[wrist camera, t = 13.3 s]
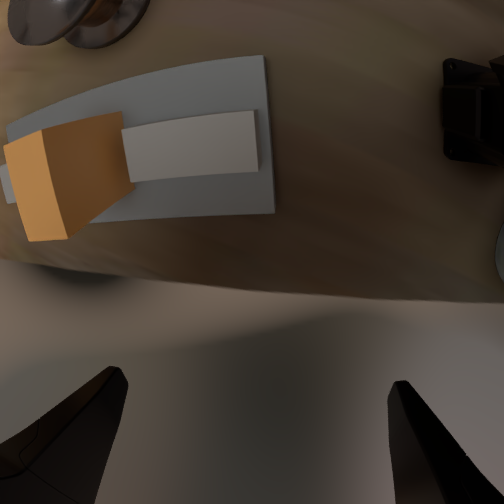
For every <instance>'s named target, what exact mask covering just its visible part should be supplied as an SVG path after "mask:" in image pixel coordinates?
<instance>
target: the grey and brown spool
mask: <svg viewBox="0 0 504 504" xmlns="http://www.w3.org/2000/svg"><path fill="white" fill-rule="evenodd" d="M149 1H150V0H10V4H9V9H8V27H9V30H10V33H11V35H12V37H13V38H14V39H15V40H16V41H17V42H18V43H20V44H23V45H36V46H40V45H46V44H50V43H52V42H54V41H57V40H58V39H60V38H62V37H63V36H64V37H65V39H66V40H67V41H68V42H69V43H70V44H72V45H74V46H76V47H80V48H88V49H97V48H103V47H106V46H109V45H111V44H113V43H115V42H117V41H118V40H120V39H121V38H123V37H124V36H125V35H127V34H128V33H129V32H130V31H131V30H132V29H133V28H134V27H135V26H136V24H137V23H138V22H139V21H140V19H141V18H142V16H143V15H144V13H145V11H146V9H147V7H148V4H149Z"/></svg>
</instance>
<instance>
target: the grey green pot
mask: <svg viewBox="0 0 504 504" xmlns="http://www.w3.org/2000/svg"><path fill="white" fill-rule="evenodd" d="M495 263H496V267H497V271H498V273H499V276H500V277H501V279H502V280H503V282H504V223H503V225H502V227H501V230H500V233H499V235H498V239H497V243H496V249H495Z"/></svg>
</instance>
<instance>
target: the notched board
mask: <svg viewBox="0 0 504 504" xmlns="http://www.w3.org/2000/svg"><path fill="white" fill-rule="evenodd" d="M119 111H122V118H123V124H124V129H122V130H121V131H122V137H123V143H124V149H125V155H126V161H127V166H128V171H129V177H130V182H134V186H135V189H134V190H133V191H131V192H130V193H128V194H127V195H126V196H124V197H123V198H121V199H120V200H119V201H117V202H116V203H114V204H113V205H112V206H110V207H109V208H108V209H106V210H105V211H103V212H102V213H101V214H99V215H98V216H97V217H96V218H94V219H93V220H92V221H90V222H89V223H99V222H112V221H126V220H141V219H157V218H175V217H195V216H217V215H244V214H275V209H276V193H275V177H274V162H273V147H272V133H271V119H270V106H269V94H268V82H267V70H266V59H265V57H264V56H263V55H256V56H245V57H236V58H227V59H220V60H213V61H206V62H200V63H194V64H189V65H183V66H178V67H173V68H168V69H164V70H159V71H155V72H151V73H147V74H143V75H139V76H135V77H131V78H128V79H124V80H120V81H117V82H114V83H110V84H107V85H104V86H101V87H98V88H95V89H92V90H89V91H86V92H83V93H80V94H78V95H75V96H72V97H70V98H67V99H64V100H62V101H59V102H57V103H54V104H52V105H50V106H47V107H45V108H43V109H40V110H38V111H36V112H34V113H31V114H29V115H27V116H25V117H23V118H21V119H19V120H17V121H15V122H13V123H11V124H9V125H7V126H6V129H7V136H8V142H9V143H11V142H13V141H15V140H18V139H20V138H22V137H25V136H27V135H29V134H32V133H34V132H37V131H39V130H42V129H45V128H49V127H52V126H56V125H60V124H64V123H68V122H72V121H76V120H80V119H84V118H89V117H93V116H98V115H103V114H108V113H113V112H119ZM0 177H1V182H2V186H3V189H4V193H5V197H6V201H7V204H10V203H14V202H16V198H15V195H14V191H13V187H12V183H11V179H10V175H9V171H8V166H7V163H6V164H4V165H2V166H0Z"/></svg>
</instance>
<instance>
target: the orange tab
mask: <svg viewBox="0 0 504 504" xmlns="http://www.w3.org/2000/svg"><path fill="white" fill-rule="evenodd" d="M122 129H124V124H123V118H122V111H119V112H113V113H108V114H103V115H98V116H93V117H89V118H84V119H80V120H76V121H72V122H68V123H64V124H60V125H56V126H52V127H49V128H45V129H42V130H39V131H37V132H34V133H32V134H29V135H27V136H25V137H22V138H20V139H18V140H15V141H13V142H11V143H9V144H7V145H5V146H3V147H4V152H5V157H6V162H7V166H8V171H9V175H10V179H11V183H12V187H13V191H14V195H15V198H16V202H17V205H18V209H19V212H20V215H21V219H22V222H23V225H24V228H25V231H26V234H27V237H28V240H29V242H30V241H44V240H60V239H69V238H70V237H71V236H72V235H74V234H75V233H76V232H77V231H79V230H80V229H81V228H83V227H84V226H85V225H86V224H88V223H89V222H90V221H92V220H93V219H94V218H96V217H97V216H98V215H99V214H101V213H102V212H103V211H105V210H106V209H108V208H109V207H110V206H112V205H113V204H114V203H116V202H117V201H119V200H120V199H121V198H123V197H124V196H126V195H127V194H128V193H130V192H131V191H133V190H134V189H135V186H134V182H130V177H129V171H128V166H127V161H126V155H125V149H124V143H123V137H122V131H121V130H122Z"/></svg>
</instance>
